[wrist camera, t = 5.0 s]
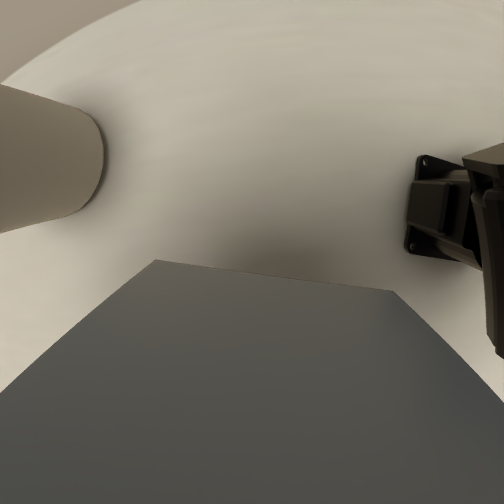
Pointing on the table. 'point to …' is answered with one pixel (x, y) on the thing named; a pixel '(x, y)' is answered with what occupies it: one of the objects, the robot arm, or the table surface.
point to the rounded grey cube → (250, 401)
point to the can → (44, 159)
